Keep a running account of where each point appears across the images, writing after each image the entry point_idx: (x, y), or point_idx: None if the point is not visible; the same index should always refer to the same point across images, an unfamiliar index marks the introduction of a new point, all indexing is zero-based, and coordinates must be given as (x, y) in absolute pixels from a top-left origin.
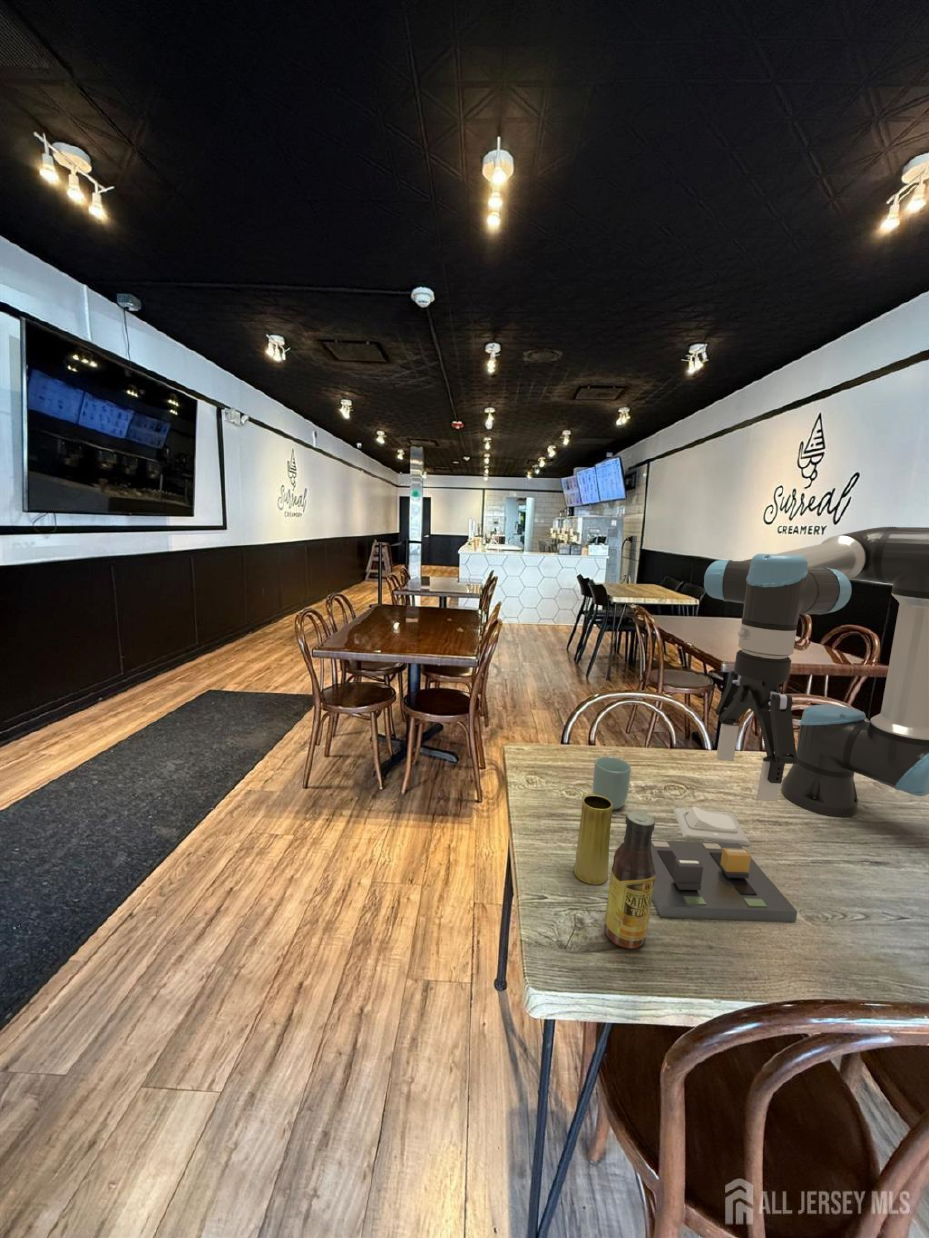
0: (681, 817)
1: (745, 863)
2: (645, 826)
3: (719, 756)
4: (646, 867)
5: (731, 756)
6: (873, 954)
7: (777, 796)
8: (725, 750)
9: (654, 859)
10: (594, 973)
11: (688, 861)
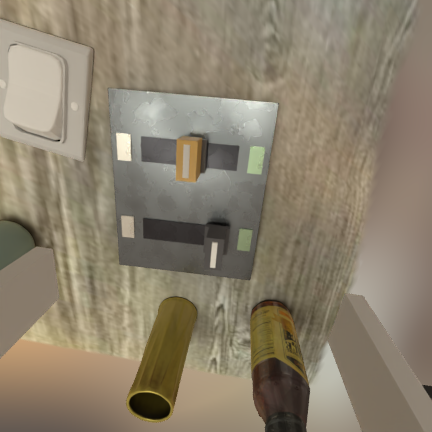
0: (30, 139)
1: (199, 147)
2: None
3: (49, 305)
4: (307, 402)
5: (40, 267)
6: (351, 18)
7: (369, 310)
8: (26, 307)
9: (162, 249)
10: (307, 350)
11: (213, 256)
